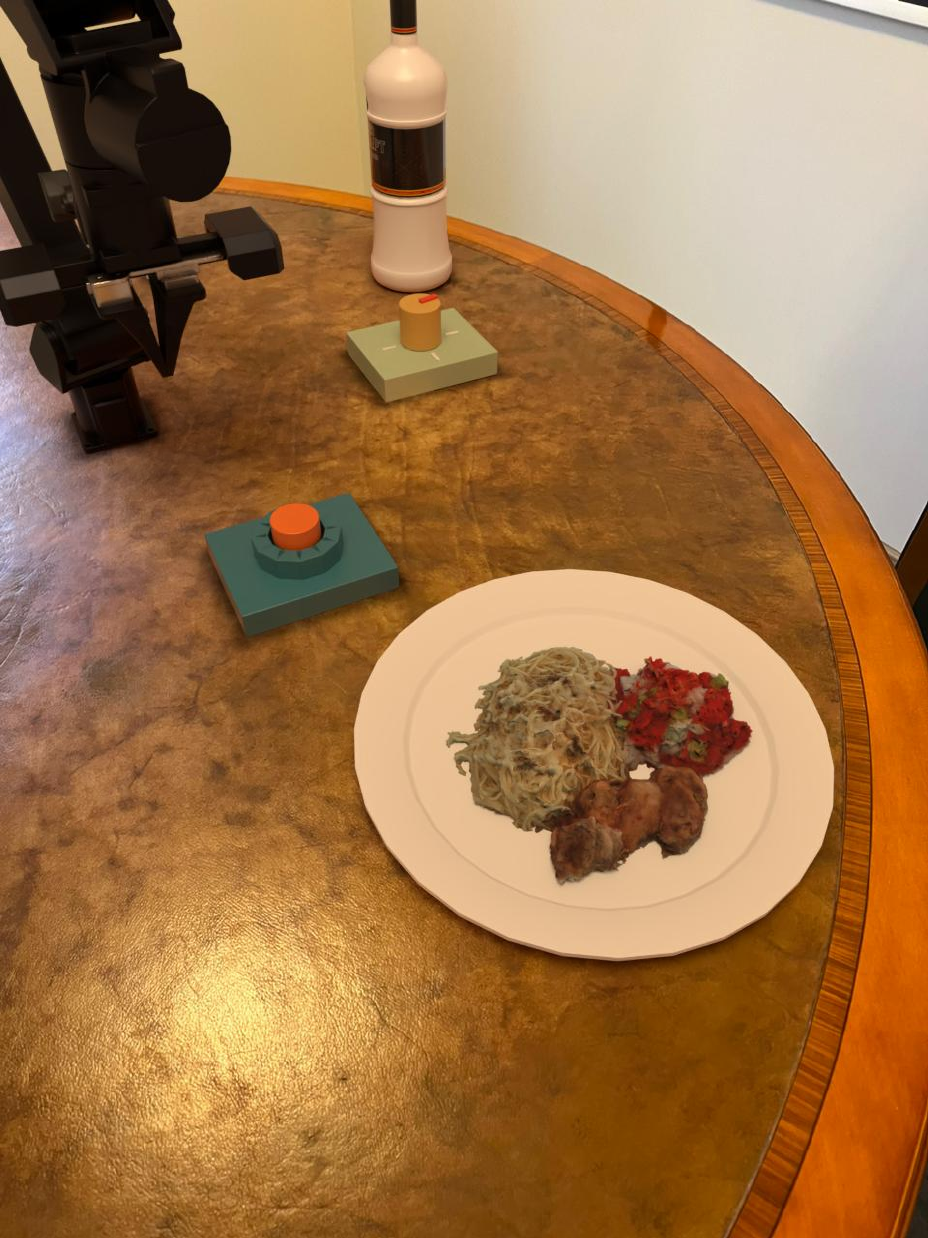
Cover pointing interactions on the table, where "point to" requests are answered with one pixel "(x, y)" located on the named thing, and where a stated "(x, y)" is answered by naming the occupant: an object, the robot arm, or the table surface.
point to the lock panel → (421, 358)
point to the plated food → (593, 764)
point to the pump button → (295, 526)
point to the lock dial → (420, 322)
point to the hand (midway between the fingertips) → (166, 374)
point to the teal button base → (301, 567)
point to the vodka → (408, 159)
